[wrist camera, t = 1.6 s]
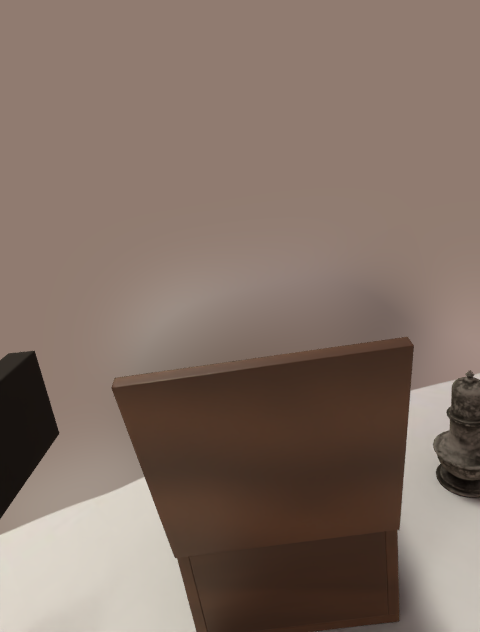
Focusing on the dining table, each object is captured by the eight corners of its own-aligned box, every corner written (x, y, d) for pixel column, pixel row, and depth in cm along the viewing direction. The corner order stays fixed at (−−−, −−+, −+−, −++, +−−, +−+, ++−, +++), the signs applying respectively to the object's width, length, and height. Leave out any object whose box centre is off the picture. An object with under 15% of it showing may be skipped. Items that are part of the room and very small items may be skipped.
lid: (114, 377, 22) (110, 387, 21) (407, 336, 21) (414, 345, 20) (175, 546, 29) (174, 558, 28) (395, 518, 28) (399, 529, 28)
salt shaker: (433, 454, 47) (434, 354, 42) (496, 462, 44) (503, 357, 40) (432, 493, 42) (434, 384, 37) (503, 505, 39) (513, 390, 35)
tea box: (208, 505, 44) (193, 433, 41) (350, 486, 44) (345, 413, 41) (200, 645, 32) (176, 557, 29) (399, 621, 31) (397, 529, 28)
